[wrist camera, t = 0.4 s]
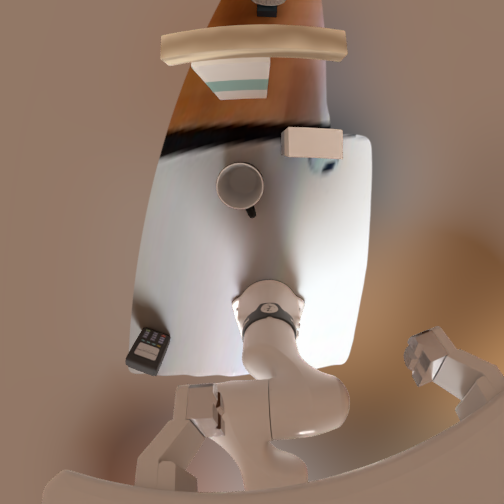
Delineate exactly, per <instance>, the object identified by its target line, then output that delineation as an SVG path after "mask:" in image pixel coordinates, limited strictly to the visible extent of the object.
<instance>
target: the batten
mask: <svg viewBox="0 0 504 504" xmlns="http://www.w3.org/2000/svg"><path fill="white" fill-rule="evenodd" d="M347 54H348V52H347V43H346V35H345V31H343V30H336V29H329V28H321V27H311V26H299V25H275V24H258V25H234V26H221V27H211V28H203V29H196V30H189V31H183V32H178V33H172V34H167V35H162V36H161V54H160V59H162V60H163V61H164V62H165V63H166V64H168V65H169V66H172V65H177V64H184V63H191V62H199V61H207V60H217V59H230V58H250V57H285V58H305V59H318V60H328V61H336V62H340V61H341V60H342V59H343V58H344V57H345V56H346V55H347Z"/></svg>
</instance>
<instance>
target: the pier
mask: <svg viewBox="0 0 504 504" xmlns="http://www.w3.org/2000/svg"><path fill="white" fill-rule="evenodd" d="M281 155H283V156H287V157H308V158H331V159H343V130H338V129H325V128H307V127H288V128H287V129H285V130H284V131H283V132H282V133H281Z"/></svg>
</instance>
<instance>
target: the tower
mask: <svg viewBox="0 0 504 504" xmlns="http://www.w3.org/2000/svg"><path fill="white" fill-rule="evenodd" d="M191 68H192V69H193V70H194V71H195V72H196V73H197V74H198V75H199V76H200V77H201V79H202V80H203V81H204V82H205V83H206V84H207V85H208V86H209V88H210V89H211V90H212V91H213V92H214V93H215V95H216V96H217V97H218V98H219V99H220V100H230V99H255V98H267V88H268V79H269V70H270V57H250V58H230V59H217V60H207V61H199V62H191Z"/></svg>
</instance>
